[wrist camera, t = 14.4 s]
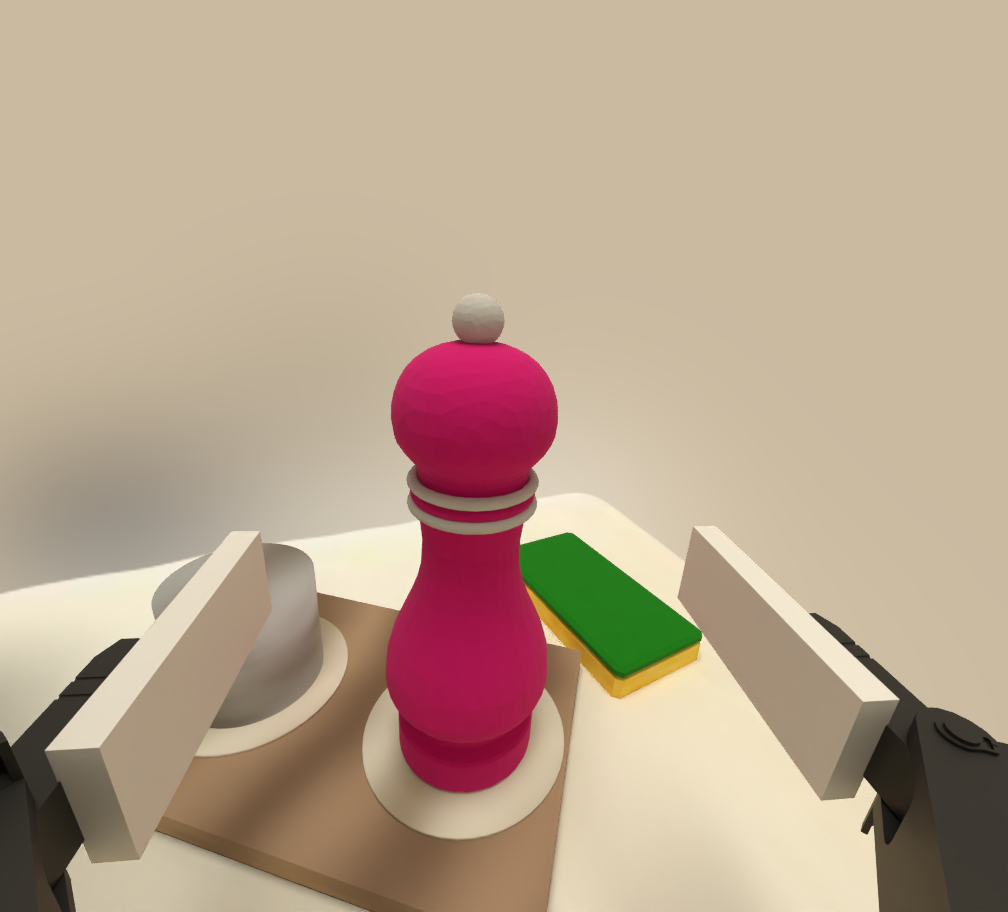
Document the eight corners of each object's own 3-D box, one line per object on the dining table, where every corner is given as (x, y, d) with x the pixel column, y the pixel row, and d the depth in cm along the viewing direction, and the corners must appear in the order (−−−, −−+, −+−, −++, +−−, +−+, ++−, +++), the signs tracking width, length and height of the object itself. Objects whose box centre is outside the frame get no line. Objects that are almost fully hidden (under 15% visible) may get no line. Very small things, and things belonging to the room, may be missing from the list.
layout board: (45, 788, 21) (-11, 660, 18) (269, 595, 33) (255, 504, 31) (537, 973, 16) (556, 836, 13) (579, 666, 29) (593, 566, 26)
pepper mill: (399, 672, 26) (385, 285, 19) (529, 668, 26) (563, 294, 19) (376, 812, 19) (342, 290, 12) (552, 802, 20) (617, 304, 13)
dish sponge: (614, 706, 27) (620, 673, 26) (497, 575, 38) (498, 549, 37) (698, 663, 30) (706, 632, 29) (567, 554, 41) (570, 530, 40)
